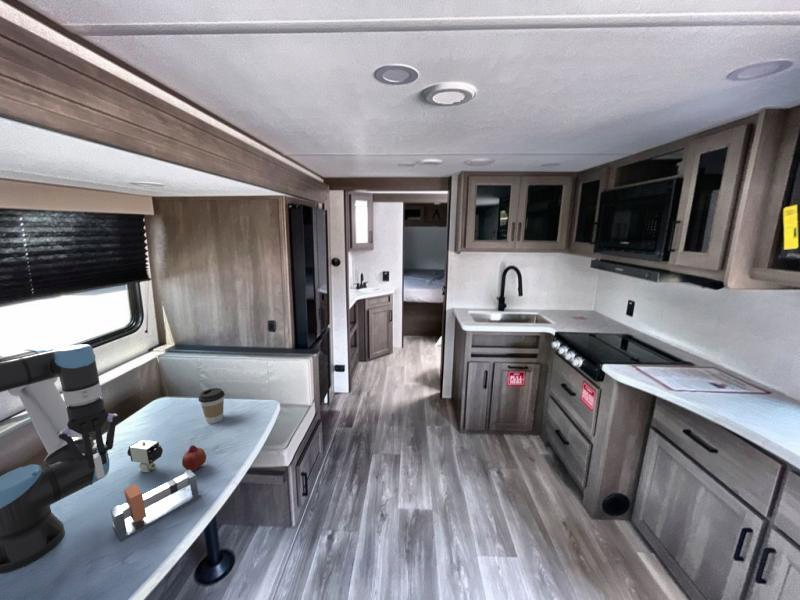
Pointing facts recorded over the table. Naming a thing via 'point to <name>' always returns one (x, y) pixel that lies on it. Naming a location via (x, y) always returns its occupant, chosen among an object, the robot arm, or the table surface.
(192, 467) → the fruit
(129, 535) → the grey rail frame
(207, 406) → the coffee cup
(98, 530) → the table surface
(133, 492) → the terracotta rectangular block
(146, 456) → the pneumatic valve
